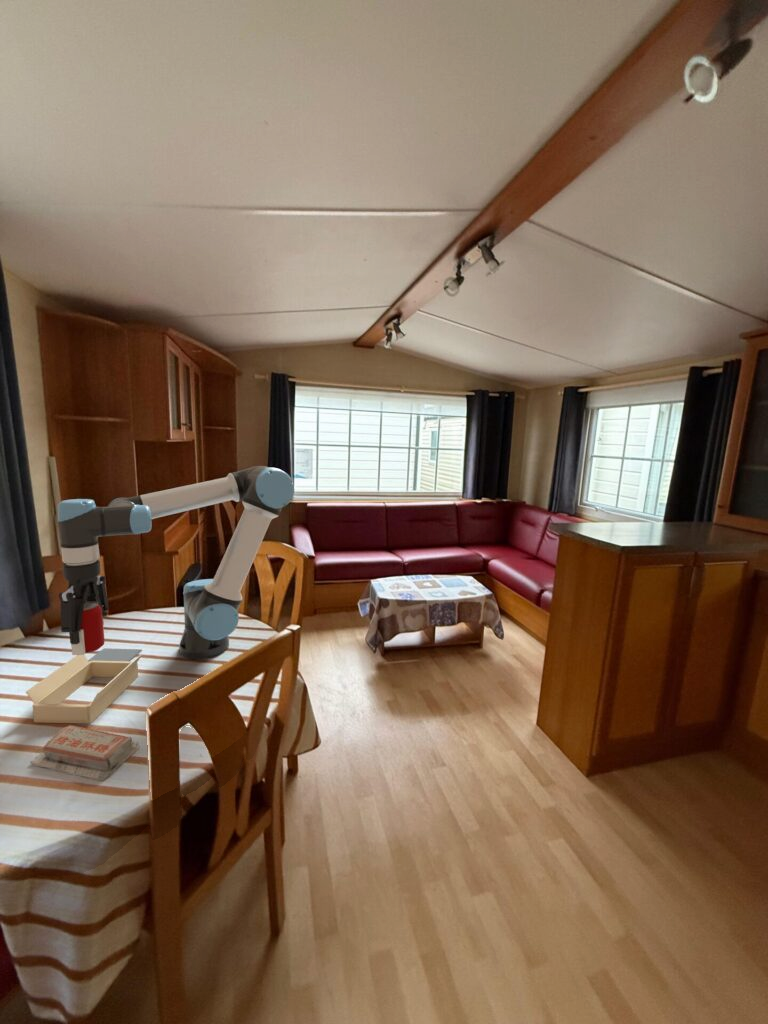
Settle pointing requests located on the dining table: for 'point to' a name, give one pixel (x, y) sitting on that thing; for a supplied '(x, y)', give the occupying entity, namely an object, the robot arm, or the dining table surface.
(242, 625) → the dining table surface
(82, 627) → the beverage can
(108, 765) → the packaged product
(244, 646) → the dining table surface
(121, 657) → the coaster
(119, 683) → the carton
